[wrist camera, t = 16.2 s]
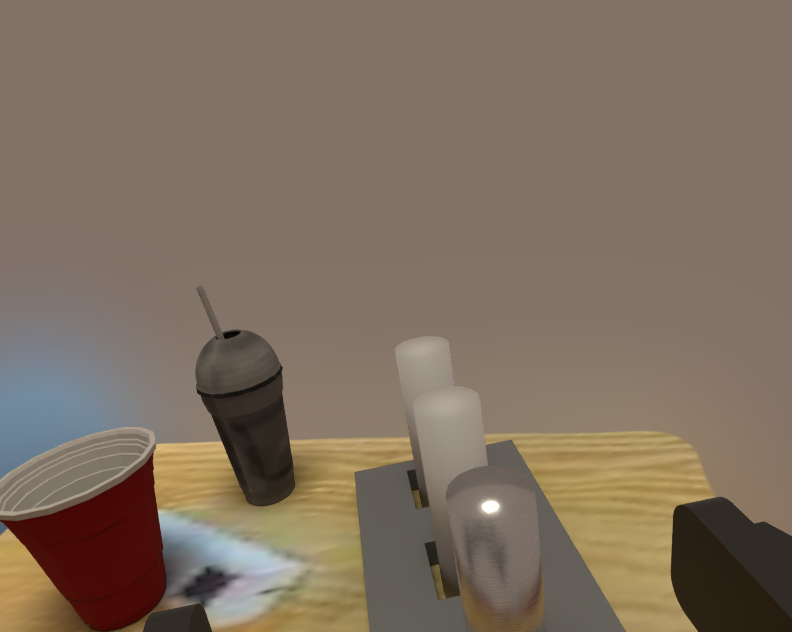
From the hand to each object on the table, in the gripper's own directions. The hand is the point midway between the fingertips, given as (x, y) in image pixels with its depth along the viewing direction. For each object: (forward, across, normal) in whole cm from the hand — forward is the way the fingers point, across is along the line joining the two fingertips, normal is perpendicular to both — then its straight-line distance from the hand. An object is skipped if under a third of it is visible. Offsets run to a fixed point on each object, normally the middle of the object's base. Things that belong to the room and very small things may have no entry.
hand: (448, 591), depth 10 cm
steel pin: (+14, -4, +23) cm, 27 cm away
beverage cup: (+39, +11, +25) cm, 47 cm away
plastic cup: (+29, +21, +24) cm, 43 cm away
